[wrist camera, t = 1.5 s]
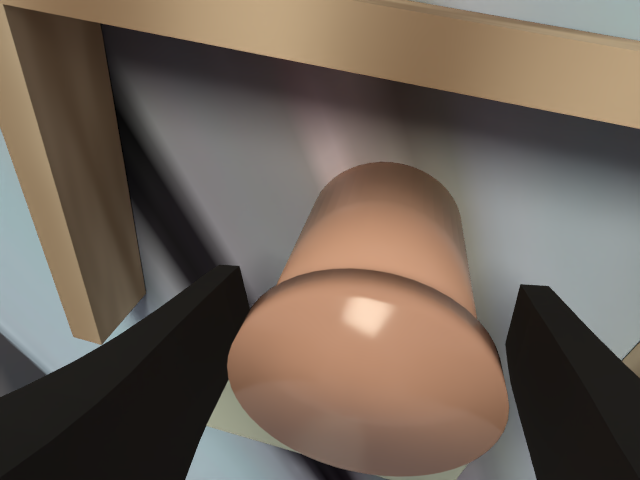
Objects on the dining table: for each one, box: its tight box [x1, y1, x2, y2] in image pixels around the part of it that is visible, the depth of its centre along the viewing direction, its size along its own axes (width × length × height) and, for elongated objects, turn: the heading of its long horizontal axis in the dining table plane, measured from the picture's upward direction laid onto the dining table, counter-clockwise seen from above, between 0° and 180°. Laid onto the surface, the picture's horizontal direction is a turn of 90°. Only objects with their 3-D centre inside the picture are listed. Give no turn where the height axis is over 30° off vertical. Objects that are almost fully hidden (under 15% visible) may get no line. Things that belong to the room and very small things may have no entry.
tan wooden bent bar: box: [0, 0, 640, 378], centre depth 12 cm, size 21×13×3 cm, turn 82°
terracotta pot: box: [227, 162, 509, 477], centre depth 11 cm, size 6×6×6 cm
